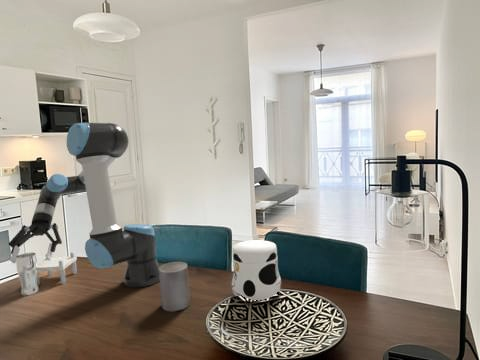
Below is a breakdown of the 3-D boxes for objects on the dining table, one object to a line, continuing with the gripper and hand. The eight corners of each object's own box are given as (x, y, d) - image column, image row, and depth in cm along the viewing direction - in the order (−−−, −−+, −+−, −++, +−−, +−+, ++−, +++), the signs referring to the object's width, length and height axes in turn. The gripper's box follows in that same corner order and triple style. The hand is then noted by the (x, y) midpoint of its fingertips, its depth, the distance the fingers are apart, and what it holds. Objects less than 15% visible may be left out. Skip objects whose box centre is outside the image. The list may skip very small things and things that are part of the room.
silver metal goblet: (18, 297, 134) (13, 259, 132) (21, 290, 140) (17, 254, 138) (39, 293, 136) (35, 256, 135) (41, 287, 143) (37, 251, 141)
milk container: (224, 293, 128) (221, 244, 126) (265, 282, 135) (263, 236, 134) (247, 312, 112) (244, 257, 110) (291, 299, 120) (289, 247, 118)
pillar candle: (173, 297, 127) (169, 256, 125) (196, 300, 122) (192, 259, 121) (155, 309, 118) (151, 266, 116) (179, 314, 114) (175, 269, 112)
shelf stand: (78, 272, 158) (76, 251, 157) (65, 283, 145) (62, 261, 144) (48, 274, 158) (46, 253, 157) (33, 285, 145) (30, 263, 144)
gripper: (75, 218, 159) (66, 262, 146) (17, 222, 157) (2, 267, 143) (69, 209, 153) (59, 253, 140) (9, 213, 151) (-7, 258, 138)
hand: (30, 260), depth 142 cm, fingers open, 13 cm apart
